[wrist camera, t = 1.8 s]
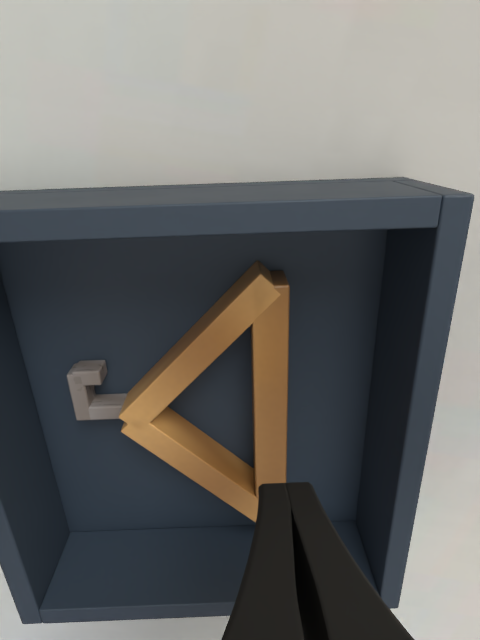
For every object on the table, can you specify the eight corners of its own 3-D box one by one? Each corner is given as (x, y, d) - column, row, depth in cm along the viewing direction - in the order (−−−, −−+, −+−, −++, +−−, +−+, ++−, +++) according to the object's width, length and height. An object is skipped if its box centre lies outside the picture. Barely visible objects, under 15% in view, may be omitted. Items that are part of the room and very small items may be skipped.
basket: (64, 526, 20) (22, 625, 16) (-28, 191, 14) (-134, 215, 10) (365, 514, 21) (398, 609, 16) (405, 176, 14) (476, 193, 10)
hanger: (104, 503, 19) (93, 534, 17) (53, 266, 14) (33, 282, 13) (281, 496, 19) (285, 527, 17) (284, 258, 14) (290, 273, 13)
